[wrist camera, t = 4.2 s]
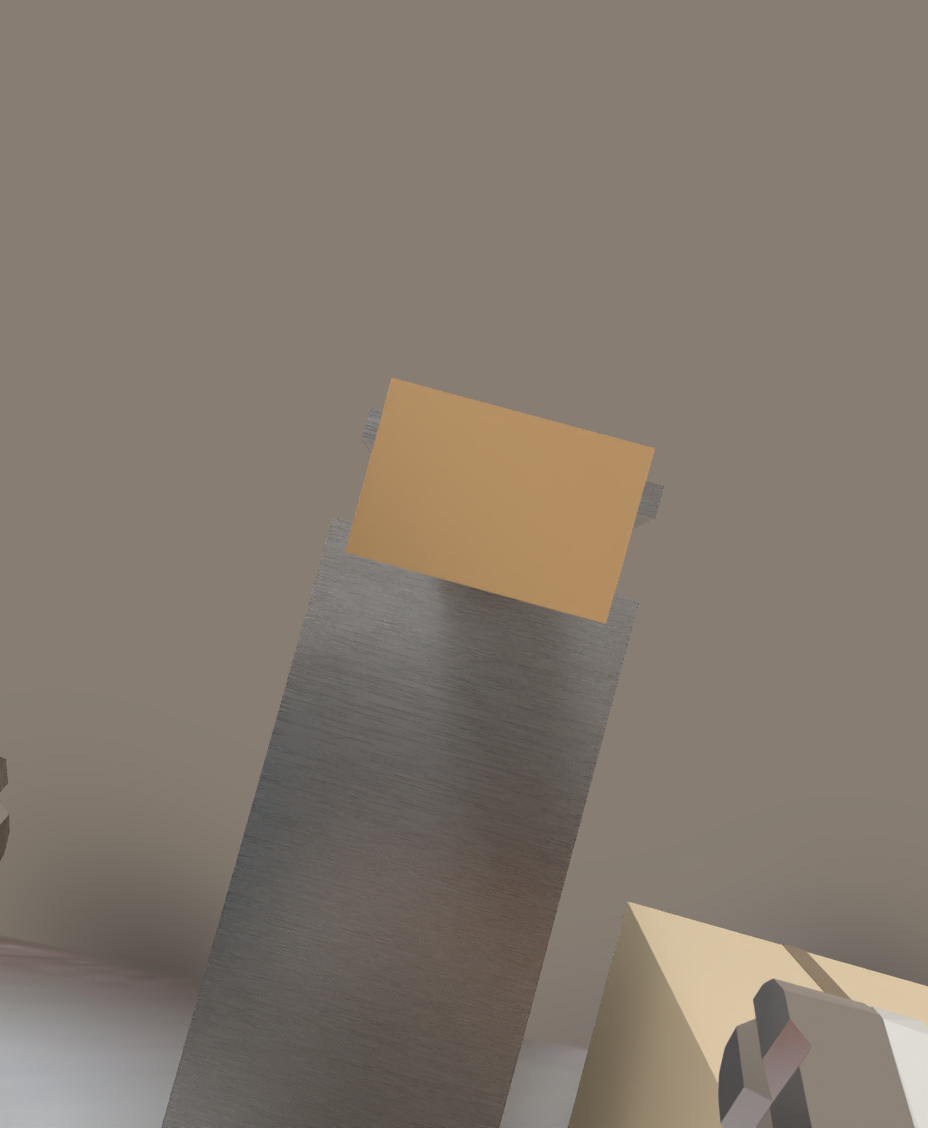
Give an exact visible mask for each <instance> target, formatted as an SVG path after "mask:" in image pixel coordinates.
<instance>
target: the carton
mask: <svg viewBox="0 0 928 1128" xmlns="http://www.w3.org/2000/svg"><path fill="white" fill-rule="evenodd" d="M773 978H774V979H778V980H781V981H785V982H789V983H792V984H796V985H799V986H803V987H807V988H810V989H814V990H818V991H821V992H825V993H828V994H832V995H836V996H839V997H843V998H846V999H850V1000H854V1001H857V1002H861V1003H865V1004H866V1005H867V1006H873V1007H876V1008H880V1009H883V1010H887V1011H890V1012H894V1013H897V1014H901V1015H904V1016H908V1017H911V1018H915V1019H918V1020H922V1021H923V1022H924V1023H925V1025H926V1026H927V1027H928V986H924V985H921V984H917V983H914V982H910V981H907V980H903V979H899V978H896V977H892V976H889V975H885V974H882V973H878V972H875V971H871V970H868V969H864V968H860V967H857V966H853V965H850V964H846V963H843V962H840V961H836V960H832V959H829V958H825V957H822V956H818V955H815V954H811V953H808V952H806V951H805V950H802V949H799V948H795V947H792V946H788V945H785V944H783V945H780V944H776V943H772V942H769V941H765V940H762V939H758V938H755V937H751V936H747V935H744V934H741V933H737V932H733V931H730V930H727V929H723V928H719V927H716V926H712V925H709V924H705V923H702V922H698V921H695V920H691V919H688V918H684V917H681V916H677V915H674V914H670V913H666V912H663V911H659V910H656V909H652V908H649V907H645V906H642V905H638V904H635V903H631V902H627V906H626V910H625V913H624V917H623V921H622V925H621V929H620V932H619V936H618V940H617V944H616V947H615V951H614V955H613V959H612V963H611V966H610V971H609V974H608V978H607V982H606V985H605V989H604V993H603V997H602V1001H601V1004H600V1008H599V1012H598V1016H597V1020H596V1024H595V1027H594V1031H593V1035H592V1039H591V1043H590V1046H589V1050H588V1054H587V1058H586V1061H585V1065H584V1069H583V1073H582V1076H581V1080H580V1084H579V1088H578V1092H577V1095H576V1099H575V1103H574V1107H573V1111H572V1114H571V1118H570V1122H569V1126H568V1128H723V1127H722V1125H721V1123H720V1112H719V1102H718V1085H719V1071H720V1067H721V1062H722V1058H723V1053H724V1049H725V1046H726V1044H727V1042H728V1040H729V1039H730V1037H731V1035H732V1033H733V1031H734V1030H735V1028H736V1026H738V1025H741V1024H743V1023H746V1022H748V1021H751V1020H753V1019H756V1017H755V1010H754V1003H753V999H754V997H755V995H756V994H757V992H758V991H759V989H760V988H761V986H762V985H763V984H764V983H766V982H767V981H769V980H771V979H773Z"/></svg>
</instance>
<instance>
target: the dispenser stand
mask: <svg viewBox="0 0 928 1128" xmlns="http://www.w3.org/2000/svg"><path fill="white" fill-rule="evenodd" d="M382 412H383V411H382V410H379V409H375V408H370V411H369V414H368V418H367V421H366V425H365V429H364V432H363V436H362V441H363V442H364V443H365V445H366V446H367V448H368V449H369V451H370V452H371V453H372V450H373V446H374V442H375V438H376V435H377V431H378V427H379V424H380V420H381V416H382ZM663 487H664V486H661V485H657V484H653V483H650V482H645V486H644V489H643V493H642V497H641V500H640V504H639V507H638V511H637V514H636V518H635V522H634V525H633V529H634V528H637V527H638V526H641V525H643V524H645V523H647V522H649V521H652V520H654V519H655V517H656V513H657V510H658V506H659V502H660V498H661V495H662V491H663ZM352 524H353V522H349V521H346V520H342V519H338V518H335V517H333V520H332V523H331V526H330V530H329V534H328V537H327V540H326V544H325V548H324V551H323V555H322V558H321V562H320V565H319V569H318V573H317V576H316V580H315V583H314V587H313V590H312V594H311V597H310V601H309V605H308V608H307V612H306V615H305V619H304V622H303V626H302V629H301V633H300V637H299V640H298V644H297V647H296V651H295V654H294V658H293V661H292V665H291V669H290V672H289V676H288V679H287V683H286V687H285V690H284V693H283V697H282V701H281V704H280V708H279V711H278V715H277V718H276V722H275V725H274V729H273V733H272V736H271V740H270V743H269V747H268V750H267V754H266V757H265V761H264V765H263V768H262V772H261V775H260V779H259V782H258V786H257V790H256V793H255V797H254V801H253V804H252V808H251V811H250V815H249V818H248V822H247V825H246V829H245V832H244V836H243V840H242V843H241V846H240V850H239V854H238V857H237V861H236V864H235V868H234V871H233V875H232V878H231V882H230V886H229V889H228V893H227V896H226V900H225V903H224V907H223V911H222V914H221V918H220V921H219V925H218V928H217V932H216V936H215V939H214V942H213V946H212V950H211V953H210V957H209V960H208V964H207V968H206V971H205V974H204V978H203V982H202V985H201V989H200V992H199V996H198V999H197V1003H196V1007H195V1010H194V1014H193V1017H192V1021H191V1024H190V1028H189V1031H188V1035H187V1039H186V1042H185V1046H184V1049H183V1053H182V1056H181V1060H180V1063H179V1067H178V1071H177V1074H176V1078H175V1081H174V1085H173V1088H172V1092H171V1095H170V1099H169V1103H168V1106H167V1110H166V1113H165V1117H164V1120H163V1124H162V1127H161V1128H499V1126H500V1122H501V1119H502V1115H503V1111H504V1107H505V1104H506V1100H507V1096H508V1092H509V1089H510V1085H511V1081H512V1077H513V1074H514V1070H515V1066H516V1062H517V1059H518V1055H519V1051H520V1047H521V1044H522V1040H523V1036H524V1032H525V1029H526V1024H527V1021H528V1017H529V1014H530V1010H531V1006H532V1002H533V999H534V995H535V991H536V987H537V983H538V980H539V976H540V972H541V968H542V965H543V961H544V957H545V954H546V950H547V946H548V942H549V938H550V935H551V931H552V927H553V923H554V919H555V916H556V912H557V908H558V905H559V901H560V897H561V893H562V890H563V886H564V882H565V878H566V875H567V871H568V867H569V863H570V859H571V856H572V852H573V848H574V845H575V841H576V837H577V833H578V830H579V826H580V822H581V818H582V815H583V811H584V807H585V803H586V799H587V796H588V792H589V788H590V785H591V781H592V777H593V773H594V769H595V766H596V762H597V758H598V754H599V751H600V747H601V743H602V740H603V736H604V732H605V728H606V724H607V721H608V717H609V713H610V710H611V706H612V702H613V698H614V695H615V691H616V687H617V683H618V680H619V676H620V672H621V668H622V664H623V661H624V657H625V653H626V649H627V646H628V642H629V638H630V634H631V631H632V627H633V623H634V619H635V616H636V612H637V608H638V605H639V601H638V600H635V599H631V598H627V597H624V596H620V595H617V594H614V597H613V600H612V604H611V608H610V611H609V615H608V618H607V622H606V624H604V623H601V622H597V621H594V620H590V619H586V618H583V617H579V616H575V615H572V614H568V613H564V612H561V611H557V610H553V609H550V608H546V607H542V606H539V605H535V604H532V603H528V602H524V601H521V600H517V599H513V598H510V597H506V596H502V595H499V594H495V593H491V592H488V591H484V590H481V589H477V588H473V587H470V586H466V585H462V584H459V583H455V582H451V581H448V580H444V579H440V578H437V577H433V576H429V575H426V574H422V573H419V572H415V571H411V570H408V569H404V568H400V567H397V566H393V565H389V564H386V563H382V562H378V561H375V560H371V559H367V558H364V557H360V556H357V555H353V554H349V553H346V552H345V551H346V547H347V543H348V539H349V536H350V532H351V528H352Z"/></svg>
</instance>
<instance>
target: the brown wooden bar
mask: <svg viewBox="0 0 928 1128" xmlns="http://www.w3.org/2000/svg"><path fill="white" fill-rule="evenodd" d="M654 450H655V449H654V448H651V447H648V446H644V445H640V444H636V443H633V442H629V441H625V440H621V439H618V438H614V437H610V436H606V435H603V434H599V433H595V432H592V431H588V430H584V429H581V428H577V427H573V426H569V425H566V424H562V423H558V422H554V421H551V420H547V419H543V418H539V417H536V416H532V415H528V414H524V413H520V412H517V411H513V410H509V409H506V408H502V407H498V406H495V405H491V404H487V403H484V402H479V401H476V400H472V399H469V398H465V397H461V396H457V395H453V394H450V393H446V392H442V391H439V390H435V389H431V388H427V387H424V386H420V385H416V384H413V383H409V382H405V381H402V380H398V379H394V378H392V379H391V382H390V386H389V390H388V394H387V398H386V401H385V405H384V409H383V412H382V416H381V420H380V424H379V427H378V431H377V435H376V438H375V442H374V446H373V450H372V453H371V458H370V461H369V465H368V468H367V472H366V476H365V480H364V483H363V487H362V491H361V495H360V498H359V502H358V506H357V510H356V513H355V517H354V521H353V524H352V528H351V532H350V536H349V539H348V543H347V547H346V551H345V552H346V553H349V554H353V555H357V556H360V557H364V558H367V559H371V560H375V561H378V562H382V563H386V564H389V565H393V566H397V567H400V568H404V569H408V570H411V571H415V572H419V573H422V574H426V575H429V576H433V577H437V578H440V579H444V580H448V581H451V582H455V583H459V584H462V585H466V586H470V587H473V588H477V589H481V590H484V591H488V592H491V593H495V594H499V595H502V596H506V597H510V598H513V599H517V600H521V601H524V602H528V603H532V604H535V605H539V606H542V607H546V608H550V609H553V610H557V611H561V612H564V613H568V614H572V615H575V616H579V617H583V618H586V619H590V620H594V621H597V622H601V623H604V624H606V622H607V618H608V615H609V611H610V608H611V604H612V600H613V597H614V593H615V590H616V586H617V582H618V579H619V575H620V572H621V568H622V565H623V561H624V557H625V553H626V550H627V547H628V543H629V540H630V536H631V532H632V529H633V525H634V522H635V518H636V514H637V511H638V507H639V504H640V500H641V497H642V493H643V489H644V486H645V482H646V479H647V475H648V472H649V468H650V464H651V460H652V457H653V454H654Z"/></svg>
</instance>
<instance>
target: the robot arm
mask: <svg viewBox="0 0 928 1128" xmlns="http://www.w3.org/2000/svg"><path fill="white" fill-rule="evenodd" d="M7 784H8V778H7V766H6V759H4V758H2V757H0V792H1V790H2V789H3V788H4V787H5V786H6V785H7ZM8 835H9V813H8V812H7V811H6V810H5V808H4V807H3V805H2V804H1V803H0V860H1V858H2V856H3V854H4V852H5V848H6V843H7V839H8ZM753 1003H754V1010H755V1017H756V1019H753V1020H751V1021H748V1022H746V1023H743V1024H741V1025H738V1026H736V1028H735V1030H734V1031H733V1033H732V1035H731V1037H730V1039H729V1040H728V1042H727V1044H726V1046H725V1049H724V1053H723V1058H722V1062H721V1067H720V1071H719V1085H718V1102H719V1112H720V1123H721V1125H722V1127H723V1128H928V1027H927V1026H926V1025H925V1023H924V1022H923V1021H922V1020H918V1019H915V1018H911V1017H908V1016H904V1015H901V1014H897V1013H894V1012H890V1011H887V1010H883V1009H880V1008H876V1007H873V1006H867V1005H866V1004H865V1003H861V1002H857V1001H854V1000H850V999H846V998H843V997H839V996H836V995H832V994H828V993H825V992H821V991H818V990H814V989H810V988H807V987H803V986H799V985H796V984H792V983H789V982H785V981H781V980H778V979H774V978H773V979H771V980H769V981H767V982H766V983H764V984H763V985H762V986H761V988H760V989H759V991H758V992H757V994H756V995H755V997H754V999H753Z"/></svg>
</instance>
